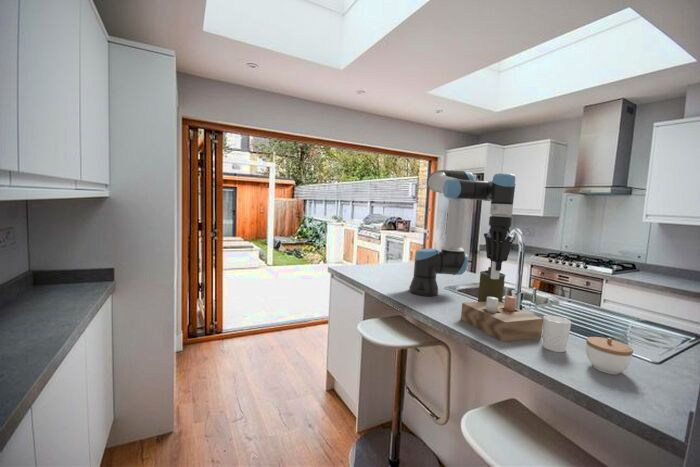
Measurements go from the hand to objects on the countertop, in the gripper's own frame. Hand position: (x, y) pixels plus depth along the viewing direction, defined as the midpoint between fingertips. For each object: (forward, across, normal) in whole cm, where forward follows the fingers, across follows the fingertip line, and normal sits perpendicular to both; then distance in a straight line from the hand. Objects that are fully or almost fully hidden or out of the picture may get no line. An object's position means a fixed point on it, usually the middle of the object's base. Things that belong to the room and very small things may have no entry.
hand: (494, 278), depth 122 cm
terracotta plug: (+14, 0, +9) cm, 16 cm away
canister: (+20, -18, +17) cm, 32 cm away
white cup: (+20, +19, +10) cm, 29 cm away
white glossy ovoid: (+14, 0, 0) cm, 14 cm away
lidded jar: (+20, +34, +12) cm, 41 cm away
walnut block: (+20, 0, +5) cm, 20 cm away
